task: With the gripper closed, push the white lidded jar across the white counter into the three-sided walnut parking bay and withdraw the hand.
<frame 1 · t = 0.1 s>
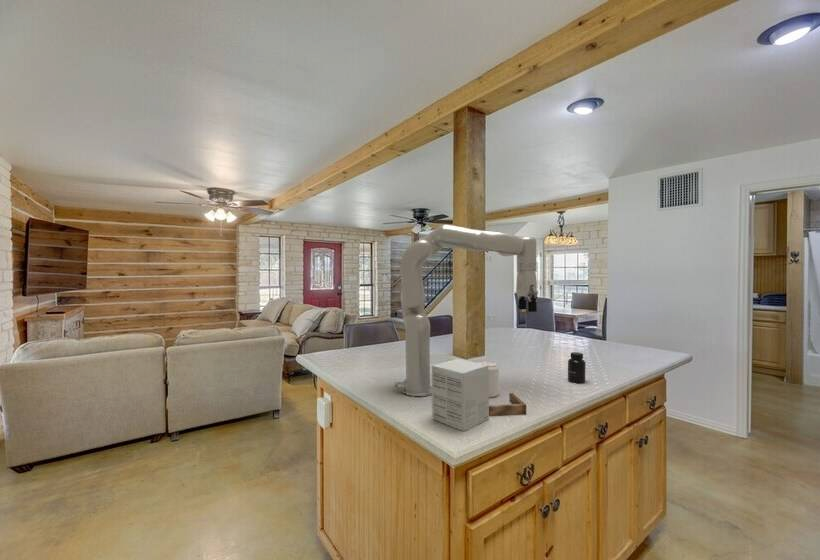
hand: (527, 310, 147), 31 cm above the worktop, fingers open, 9 cm apart
supplement bottle: (576, 381, 154), on the worktop
bay: (500, 408, 125), on the worktop
white lidded jar: (487, 395, 139), on the worktop
supplement box: (460, 419, 116), on the worktop
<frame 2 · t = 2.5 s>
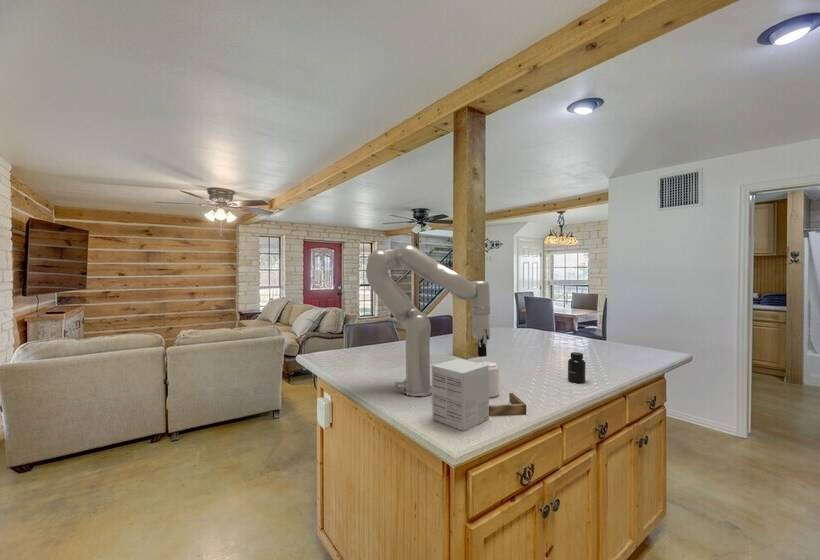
hand: (482, 356, 148), 13 cm above the worktop, fingers closed
nothing on the worktop moved.
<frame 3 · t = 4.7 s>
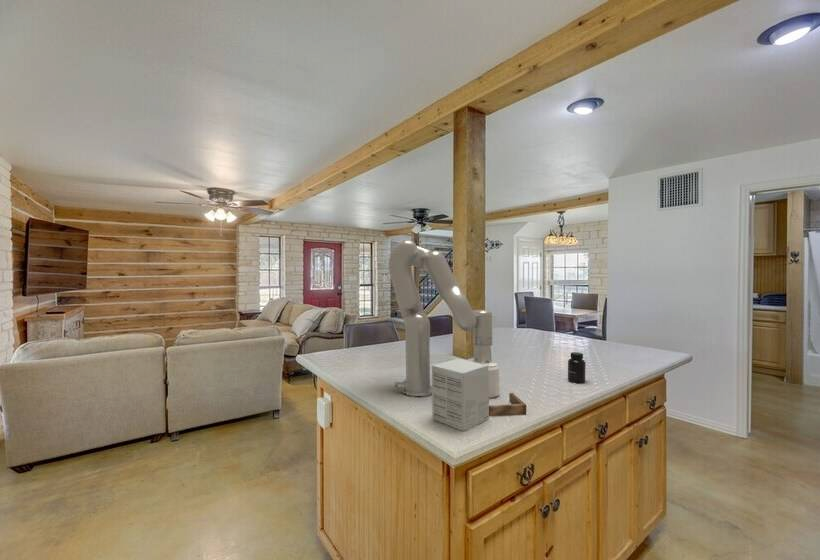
hand: (483, 386, 145), 1 cm above the worktop, fingers closed
nothing on the worktop moved.
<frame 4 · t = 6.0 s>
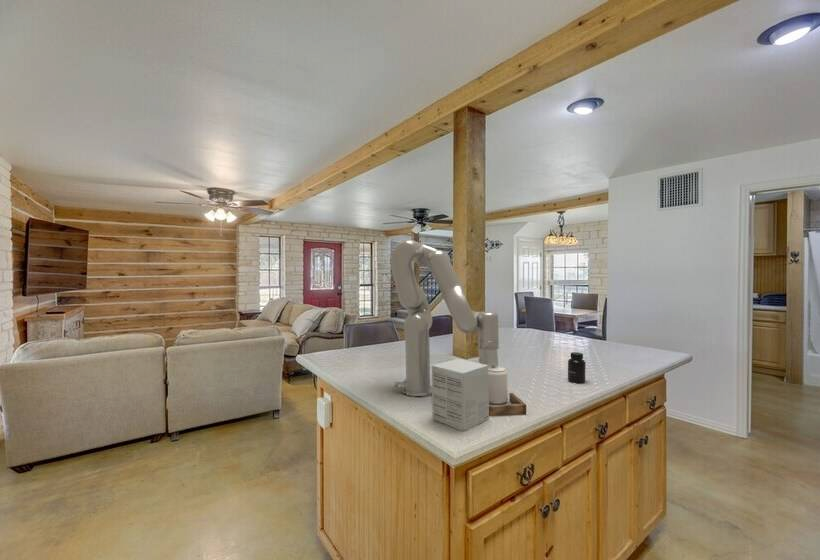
hand: (489, 392, 138), 1 cm above the worktop, fingers closed
white lidded jar: (496, 401, 132), on the worktop, touching gripper
everything else where it was.
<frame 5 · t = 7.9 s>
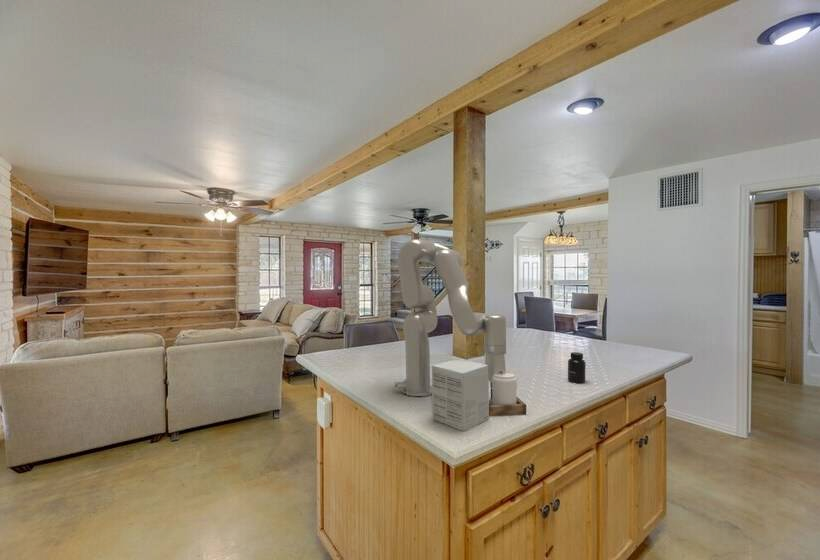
hand: (495, 399, 130), 1 cm above the worktop, fingers closed
white lidded jar: (504, 409, 124), resting in bay, touching gripper
everything else where it was.
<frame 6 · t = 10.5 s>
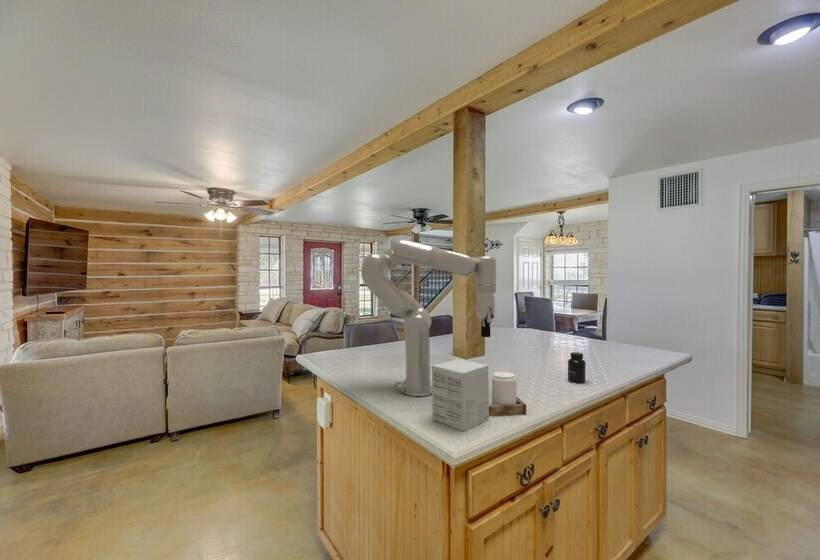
hand: (485, 336, 139), 22 cm above the worktop, fingers closed
white lidded jar: (504, 409, 124), resting in bay
everything else where it was.
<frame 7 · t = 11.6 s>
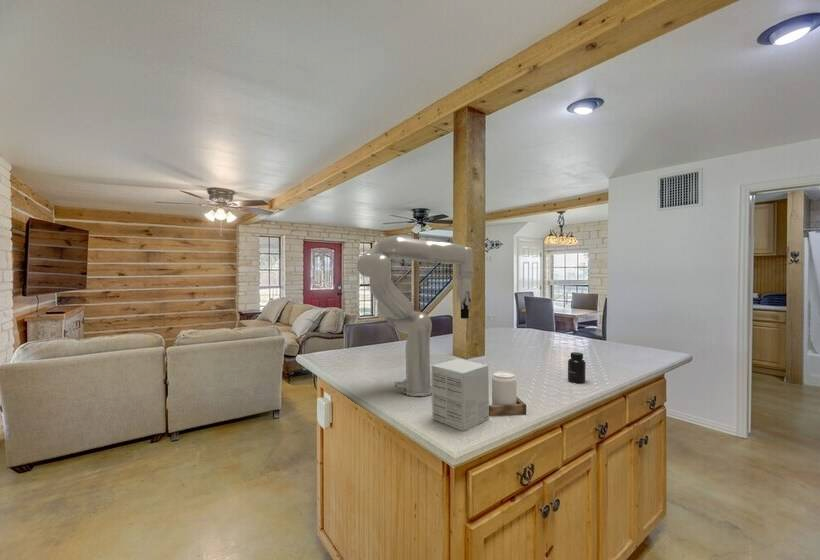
hand: (464, 318, 157), 27 cm above the worktop, fingers closed
nothing on the worktop moved.
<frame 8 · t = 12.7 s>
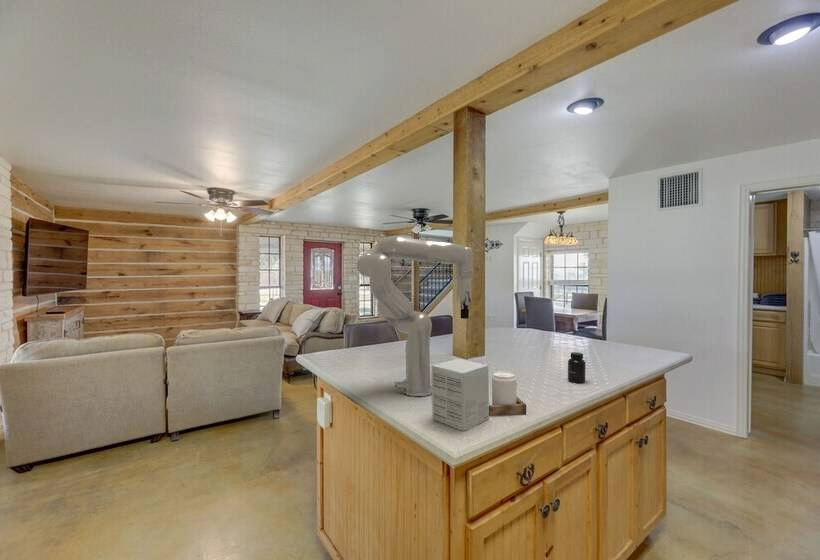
hand: (464, 318, 157), 27 cm above the worktop, fingers closed
nothing on the worktop moved.
at the end: white lidded jar inside the target area on the bay (1.1 cm from its centre), point 0.0 cm above the bay's base; white lidded jar tilted 0° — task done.
